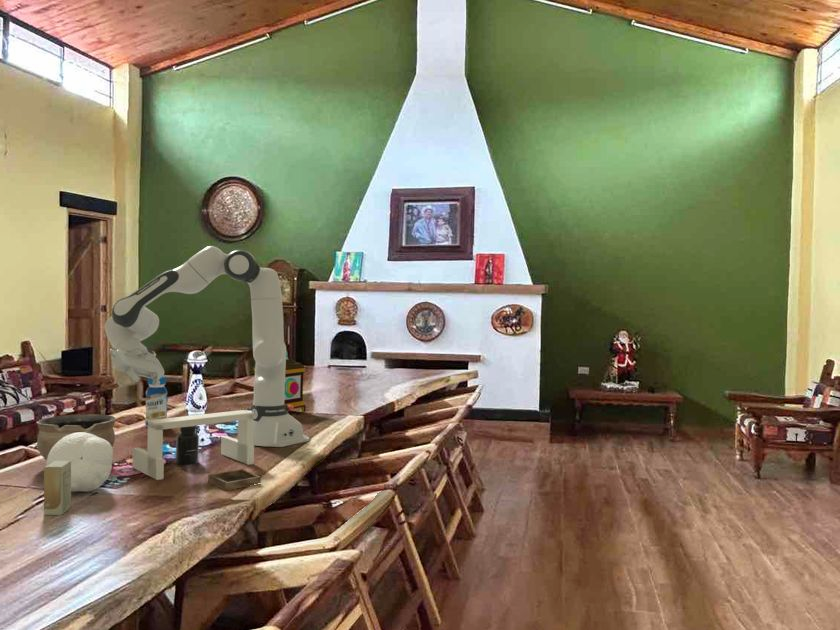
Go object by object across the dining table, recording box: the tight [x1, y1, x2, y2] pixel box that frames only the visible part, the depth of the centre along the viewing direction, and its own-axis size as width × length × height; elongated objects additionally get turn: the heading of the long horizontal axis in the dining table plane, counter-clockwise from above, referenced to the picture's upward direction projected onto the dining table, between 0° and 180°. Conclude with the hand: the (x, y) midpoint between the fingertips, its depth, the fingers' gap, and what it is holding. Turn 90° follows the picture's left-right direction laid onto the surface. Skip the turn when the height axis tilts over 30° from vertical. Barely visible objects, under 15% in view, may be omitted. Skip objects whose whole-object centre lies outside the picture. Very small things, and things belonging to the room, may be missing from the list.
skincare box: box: [43, 461, 72, 516], centre depth 180 cm, size 6×4×12 cm
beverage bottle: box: [144, 375, 169, 428], centre depth 287 cm, size 8×8×20 cm
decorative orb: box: [46, 432, 114, 493], centre depth 198 cm, size 20×18×16 cm
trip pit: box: [207, 468, 262, 491], centre depth 210 cm, size 11×11×2 cm
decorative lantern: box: [250, 350, 307, 413], centre depth 324 cm, size 20×20×30 cm
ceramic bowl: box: [35, 414, 117, 462], centre depth 223 cm, size 22×22×15 cm
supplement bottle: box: [175, 425, 200, 466], centre depth 232 cm, size 7×7×12 cm
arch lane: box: [132, 409, 255, 481], centre depth 228 cm, size 32×18×16 cm, turn 133°
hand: (147, 382), depth 244 cm, fingers open, 8 cm apart
